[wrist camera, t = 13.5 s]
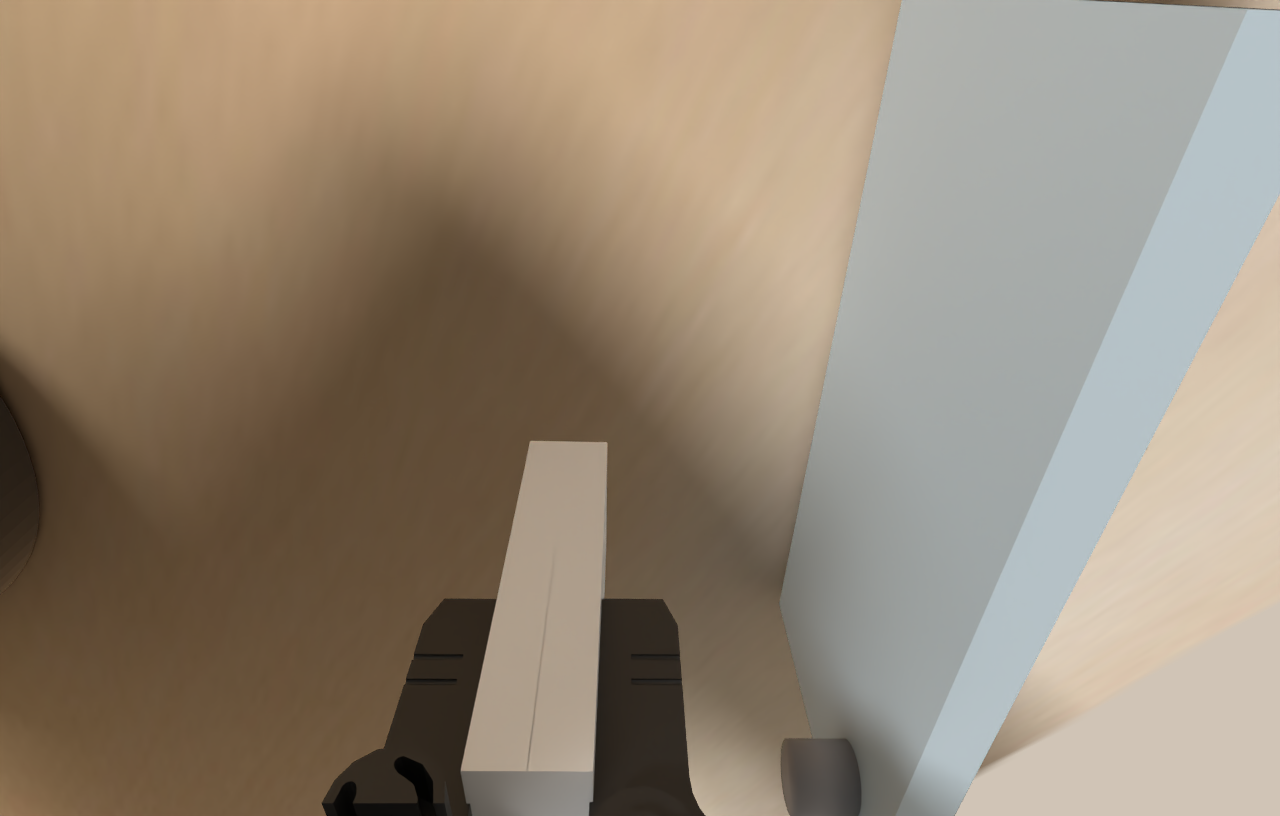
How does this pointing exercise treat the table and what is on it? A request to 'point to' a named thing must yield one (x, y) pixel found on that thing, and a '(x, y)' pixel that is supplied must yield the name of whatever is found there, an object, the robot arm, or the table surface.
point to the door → (1006, 359)
